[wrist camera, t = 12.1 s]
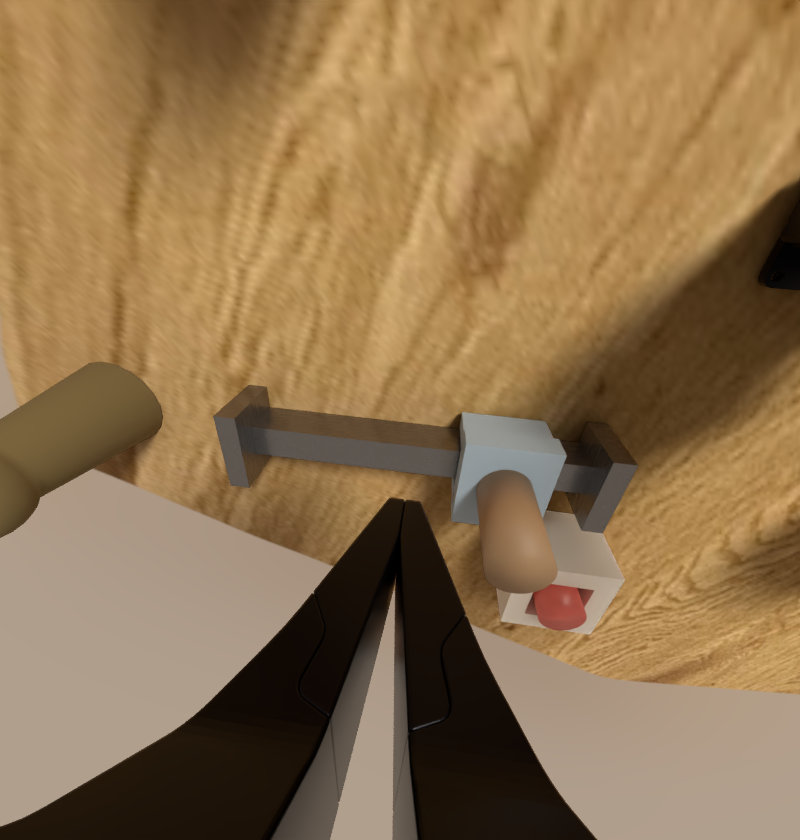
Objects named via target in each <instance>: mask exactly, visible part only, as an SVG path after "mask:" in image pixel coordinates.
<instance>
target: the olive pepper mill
mask: <svg viewBox="0 0 800 840" xmlns="http://www.w3.org/2000/svg"><path fill="white" fill-rule="evenodd" d="M162 418H163V416H162V411H161V406H160V404H159V402H158V400H157V399H156V397H155V395H154V393H153V392H152V391H151V390H150V389H149V387H148V386H147V385H146V384H145V383H144V382H143V381H142V380H141V379H139V378H138V377H137V376H135V375H134V374H133V373H131V372H130V371H128V370H126V369H124V368H122V367H120V366H118V365H115V364H110V363H105V362H95V363H89V364H88V365H86V366H84V367H83V368H81V369H79V370H78V371H76V372H75V373H73V374H71V375H70V376H68V377H67V378H65V379H63V380H62V381H60V382H59V383H57V384H56V385H54V386H52V387H51V388H49V389H48V390H46V391H44V392H43V393H41V394H40V395H38V396H37V397H35V398H33V399H32V400H30V401H29V402H27V403H25V404H24V405H22V406H21V407H19V408H17V409H16V410H14V411H13V412H11V413H10V414H8V415H6V416H5V417H3V418H2V419H0V538H1V537H3V536H5V535H7V534H9V533H11V532H13V531H14V530H16V529H17V528H18V527H20V526H21V525H22V524H24V523H25V522H26V521H27V519H28V518H29V517H30V516H31V514H33V512H34V511H35V509H36V508H37V506H38V503H39V499H40V497H42V496H44V495H45V494H47V493H49V492H51V491H53V490H54V489H56V488H58V487H60V486H62V485H64V484H65V483H67V482H69V481H71V480H73V479H74V478H76V477H78V476H80V475H82V474H83V473H85V472H87V471H89V470H91V469H92V468H94V467H96V466H98V465H100V464H102V463H103V462H105V461H107V460H109V459H111V458H112V457H114V456H116V455H118V454H120V453H121V452H123V451H125V450H127V449H129V448H130V447H132V446H134V445H136V444H138V443H140V442H141V441H143V440H145V439H147V438H149V437H150V436H152V435H154V434H156V432H157V431H158V430H159V429H160V427H161V424H162Z"/></svg>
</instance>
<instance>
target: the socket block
mask: <svg viewBox="0 0 800 840" xmlns="http://www.w3.org/2000/svg"><path fill="white" fill-rule="evenodd" d="M543 522H544V525H545V529H546V532H547V535H548V539H549V542H550V545H551V548H552V552H553V555H554V558H555V561H556V565H557V568H558V573H557V577H556V579H555V580H554V581H553V583H551V584H554V585H561V586H568V587H575V588H578V591H579V594H580V597H581V600H582V603H583V606H584V609H585V612H586V615H587V619H586V621H585V623H584V624H583V625H581V626H579V627H577V628H575V629H571V630H562V631H569V632H576V633H582V634H589V635H590V634H591V633H592V631H593V629H594V628H595V626H596V625H597V623H598V622H599V620H600V619H601V617H602V615H603V614H604V612H605V611H606V609H607V608H608V606H609V605H610V603H611V601H612V600H613V598H614V597H615V595H616V594H617V592H618V591H619V589H620V587H621V586H622V584H623V583H624V581H625V579H624V577H623V575H622V572H621V570H620V568H619V566H618V564H617V562H616V560H615V558H614V556H613V554H612V552H611V549H610V547H609V545H608V543H607V541H606V539H605V537H604V535H603V534H602V533H595V532H587V531H581V529H580V527H579V524H578V522H577V519H576V517H575V515H574V514H571V513H563V512H555V511H547V510H546V511H545V514H544V516H543ZM496 590H497V598H498V606H499V614H500V621H502V622H509V623H515V624H522V625H529V626H536V627H542V628H547V627H545V626H543V625H542V624H541V623H540V622H539V620H538V616H537V611H536V606H535V602H534V597H533V592H532V593H526V594H515V593H508V592H505V591H502V590H499V589H497V588H496Z"/></svg>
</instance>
